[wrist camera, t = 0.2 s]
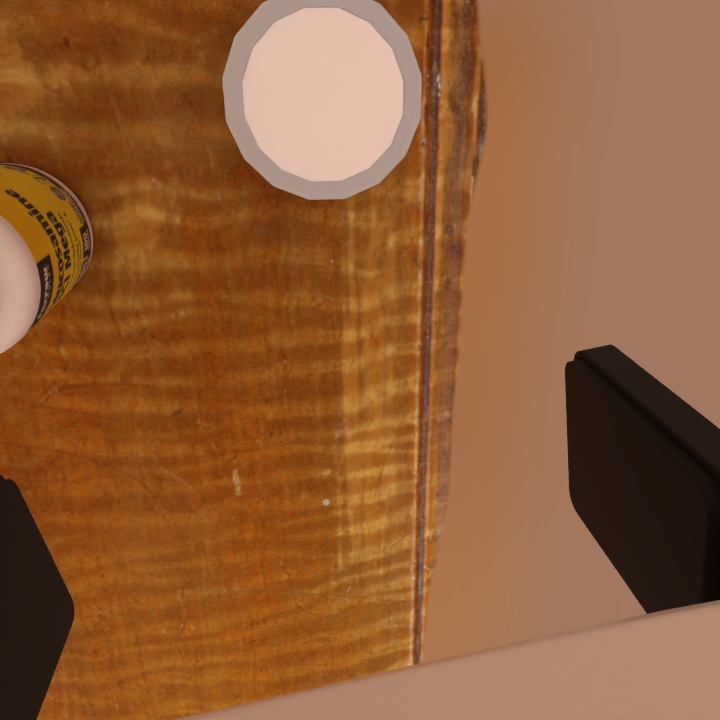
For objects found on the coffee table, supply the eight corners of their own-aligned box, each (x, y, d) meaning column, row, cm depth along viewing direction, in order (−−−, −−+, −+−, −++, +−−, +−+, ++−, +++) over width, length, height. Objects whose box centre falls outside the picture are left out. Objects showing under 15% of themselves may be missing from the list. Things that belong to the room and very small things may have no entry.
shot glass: (405, 25, 27) (444, 9, 21) (374, 186, 30) (400, 216, 23) (243, -12, 26) (233, -42, 20) (225, 160, 28) (211, 183, 22)
